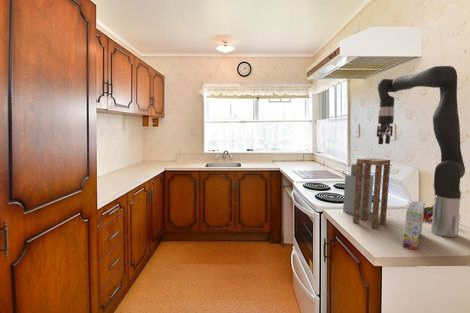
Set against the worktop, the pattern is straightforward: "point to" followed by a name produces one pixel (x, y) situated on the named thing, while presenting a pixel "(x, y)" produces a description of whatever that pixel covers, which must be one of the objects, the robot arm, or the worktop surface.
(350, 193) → the slate pedestal
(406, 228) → the snack box
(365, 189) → the walnut stand
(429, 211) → the foo dog statuette
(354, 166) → the metal bar
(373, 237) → the worktop surface
